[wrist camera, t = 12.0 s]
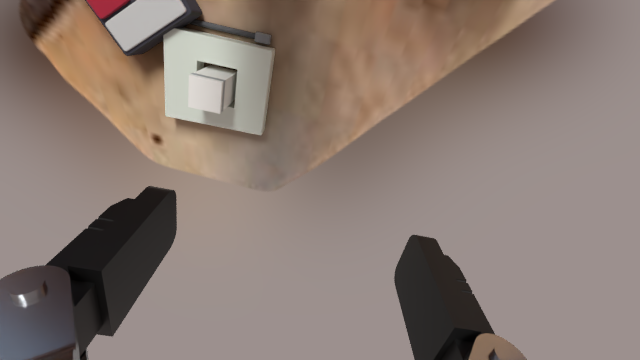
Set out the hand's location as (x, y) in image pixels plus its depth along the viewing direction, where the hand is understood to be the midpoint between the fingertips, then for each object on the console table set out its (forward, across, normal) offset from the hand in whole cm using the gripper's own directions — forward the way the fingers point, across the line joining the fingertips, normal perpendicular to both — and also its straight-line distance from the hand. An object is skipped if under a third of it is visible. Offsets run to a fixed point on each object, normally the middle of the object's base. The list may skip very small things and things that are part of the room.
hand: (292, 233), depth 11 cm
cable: (+38, +14, -2) cm, 41 cm away
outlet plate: (+38, +13, +5) cm, 41 cm away
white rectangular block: (+38, +13, +5) cm, 41 cm away
